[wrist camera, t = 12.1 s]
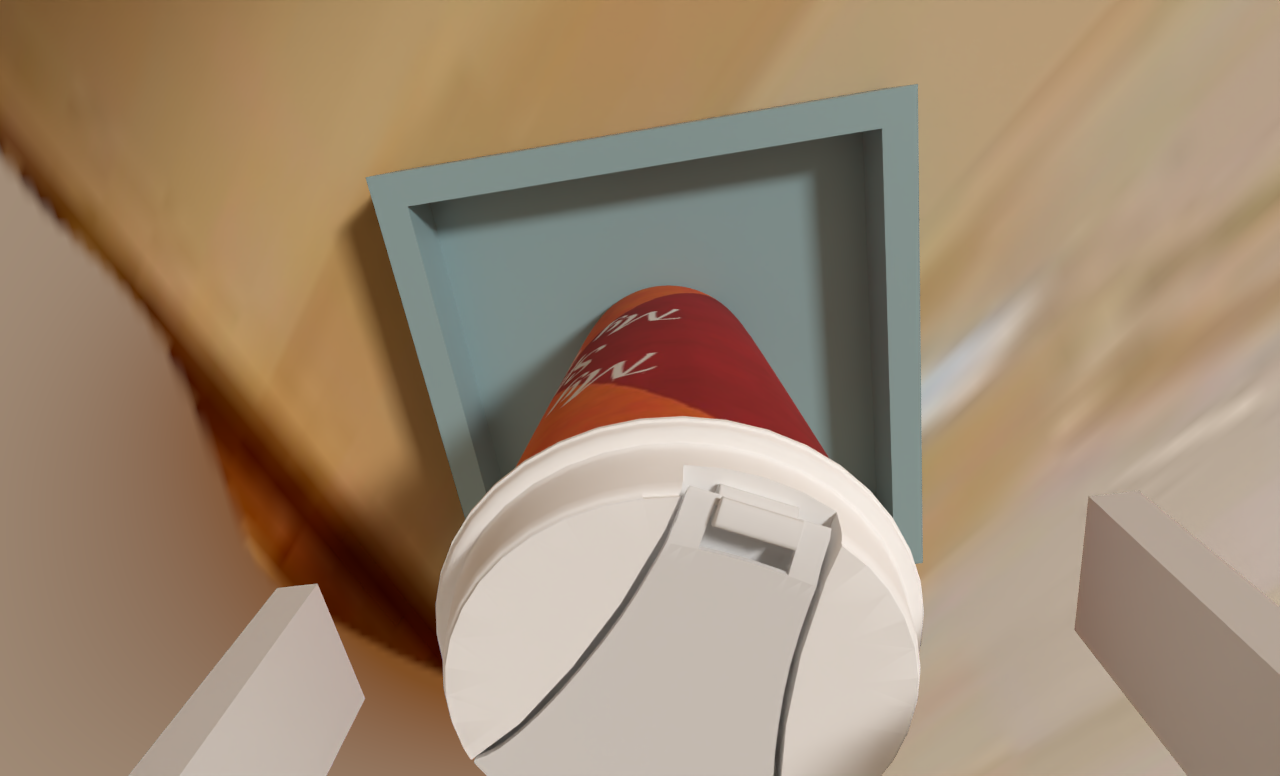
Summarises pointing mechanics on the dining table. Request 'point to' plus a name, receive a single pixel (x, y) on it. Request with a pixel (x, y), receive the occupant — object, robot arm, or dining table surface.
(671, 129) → the tray
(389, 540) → the dining table surface
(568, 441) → the coffee cup
